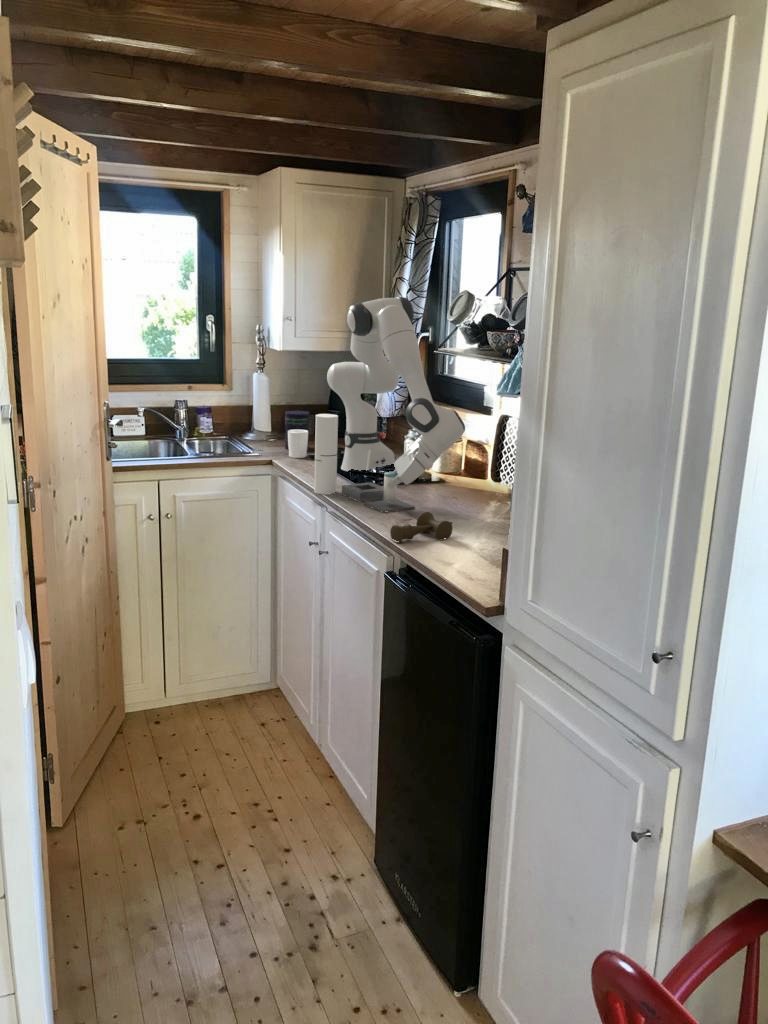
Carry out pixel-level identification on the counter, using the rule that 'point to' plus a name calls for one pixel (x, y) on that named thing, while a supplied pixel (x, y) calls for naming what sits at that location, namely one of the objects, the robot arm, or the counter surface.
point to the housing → (363, 491)
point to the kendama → (422, 528)
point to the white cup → (297, 443)
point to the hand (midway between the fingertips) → (388, 484)
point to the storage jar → (296, 423)
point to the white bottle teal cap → (388, 492)
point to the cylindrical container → (326, 453)
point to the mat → (390, 505)
